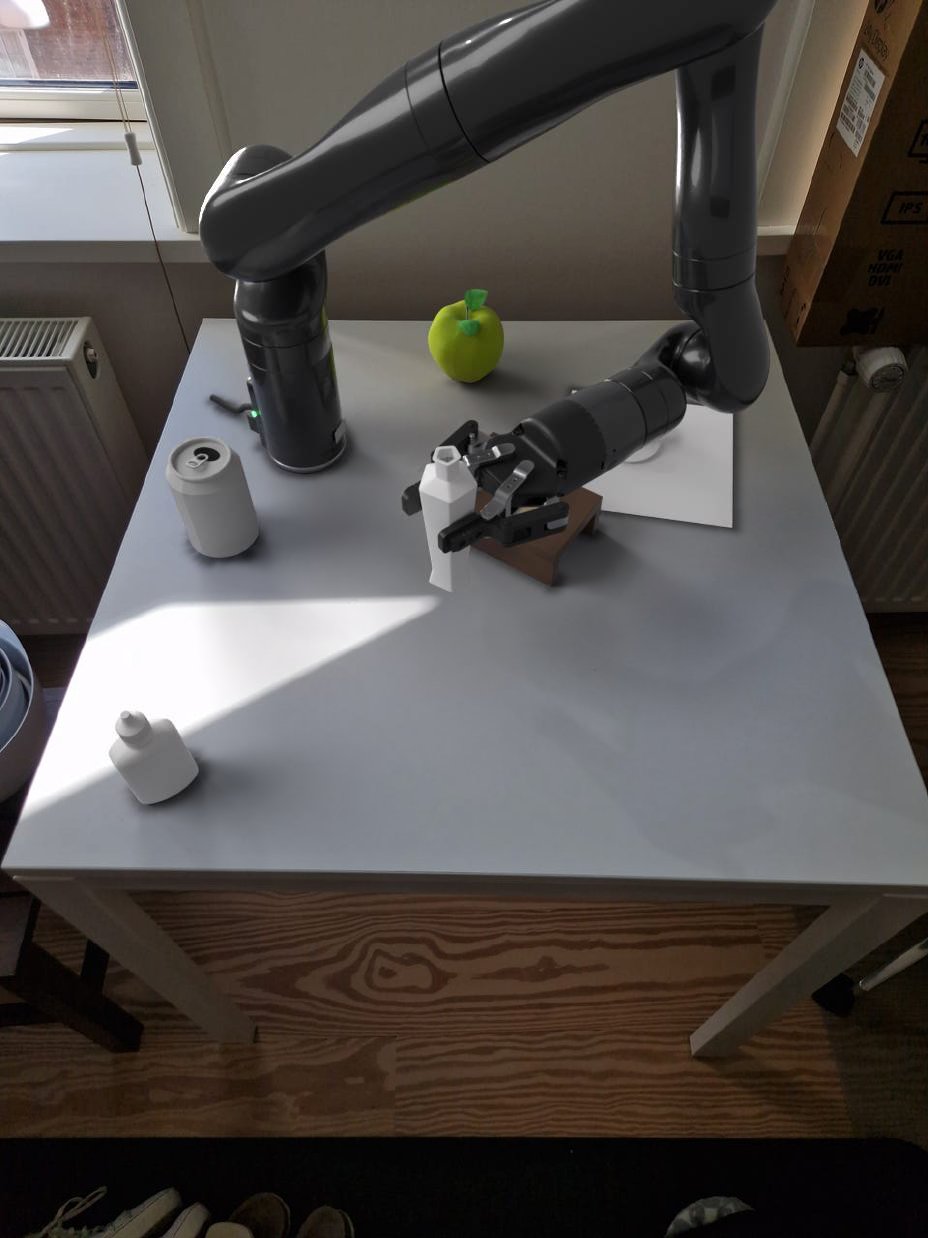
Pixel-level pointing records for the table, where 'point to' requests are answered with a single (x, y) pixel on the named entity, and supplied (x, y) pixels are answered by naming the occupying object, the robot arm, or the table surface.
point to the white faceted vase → (447, 513)
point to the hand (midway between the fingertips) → (423, 524)
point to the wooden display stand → (544, 552)
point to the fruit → (467, 338)
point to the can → (212, 496)
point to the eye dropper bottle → (151, 757)
